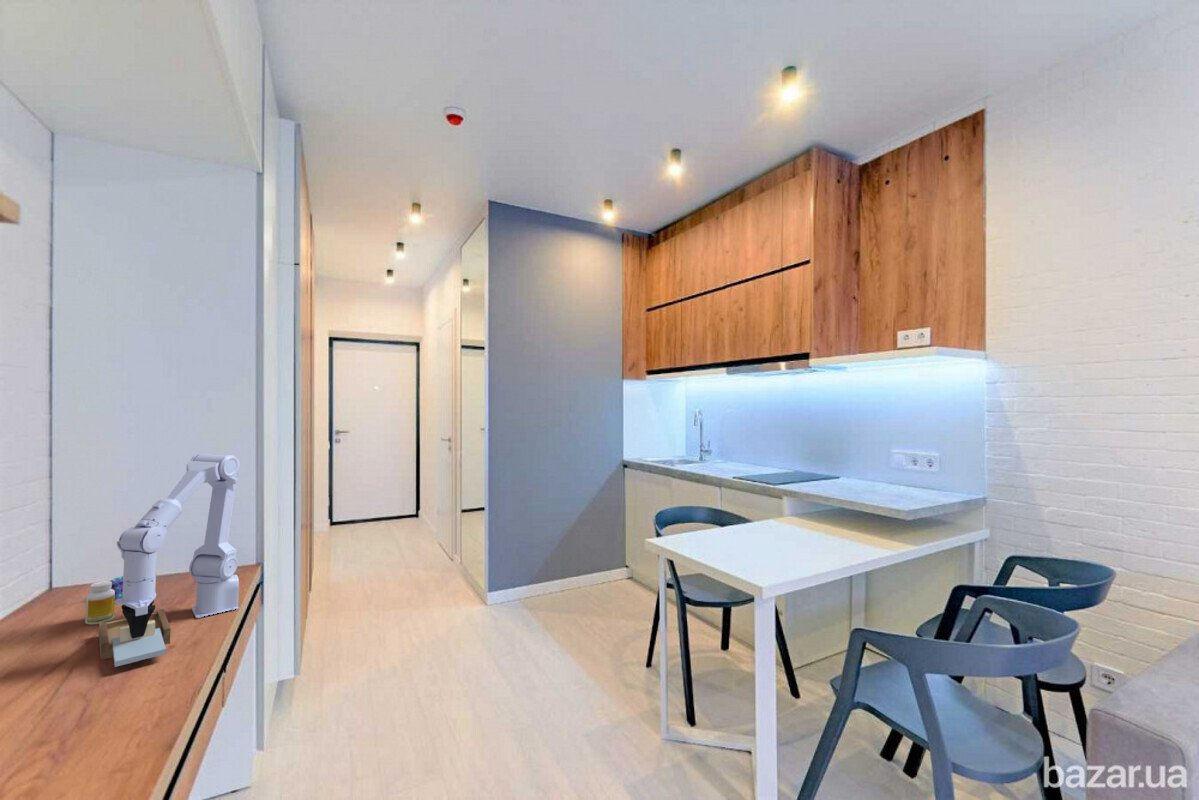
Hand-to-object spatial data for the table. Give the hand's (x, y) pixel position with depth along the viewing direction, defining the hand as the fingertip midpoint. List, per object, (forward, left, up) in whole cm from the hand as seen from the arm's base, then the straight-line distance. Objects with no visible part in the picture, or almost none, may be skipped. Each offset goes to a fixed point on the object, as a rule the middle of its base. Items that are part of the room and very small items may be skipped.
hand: (137, 635), depth 118 cm
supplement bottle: (+5, -25, -4) cm, 26 cm away
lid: (0, +3, -2) cm, 4 cm away
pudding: (0, -41, -4) cm, 41 cm away
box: (0, -7, -4) cm, 8 cm away
